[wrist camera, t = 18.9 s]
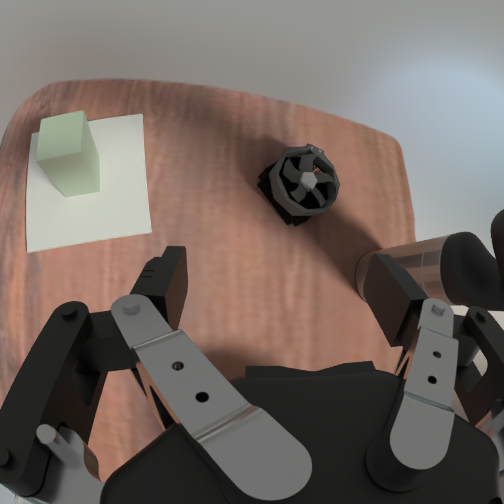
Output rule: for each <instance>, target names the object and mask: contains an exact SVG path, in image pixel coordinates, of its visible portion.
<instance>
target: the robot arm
mask: <svg viewBox="0 0 504 504" xmlns="http://www.w3.org/2000/svg"><path fill="white" fill-rule="evenodd" d="M491 238H492V244H493V249H494V253H495V257H496V259H495V258H494V257H493V256H492V255H491V254H490V253H489V251H488V250H487V249H486V248H485V246H484V245H483V243H482V242H481V241H480V239H479V238H478V237H477V236H476V235H474V234H473V233H470V232H459V233H456V234H451V235H446V236H442V237H437V238H433V239H429V240H424V241H419V242H414V243H410V244H405V245H400V246H396V247H391V248H386V249H381V250H376V251H371V252H368V253H366V254H365V255H364V256H363V257H362V258H361V259H360V261H359V263H358V265H357V269H356V276H355V279H356V286H357V290H358V292H359V294H360V296H361V297H362V299H363V300H364V301H365V302H367V303H368V305H369V307H370V308H371V310H372V312H373V314H374V316H375V318H376V320H377V321H378V323H379V325H380V327H381V329H382V331H383V333H384V335H385V337H386V338H387V340H388V342H389V344H390V346H391V347H396V346H403V349H402V351H401V353H400V355H399V358H398V361H397V364H396V367H395V369H394V372H393V374H392V373H389V372H385V371H381V370H376V369H375V367H374V364H373V362H372V361H364V362H353V363H343V364H340V365H337V366H333V367H330V368H326V369H323V370H319V371H306V370H299V369H293V368H287V367H282V366H246V372H245V376H241V377H237V378H233V379H230V380H228V381H227V380H226V379H225V378H224V376H223V375H222V374H221V373H220V372H219V371H218V370H217V369H216V368H215V367H214V365H213V364H212V363H211V362H210V361H209V360H208V359H207V358H206V356H205V355H204V354H203V353H202V352H201V351H200V350H199V348H198V347H197V346H196V345H195V344H194V343H193V341H192V340H191V339H190V338H189V337H188V336H187V334H186V333H185V332H184V331H183V330H181V329H178V326H179V322H180V318H181V314H182V310H183V307H184V303H185V299H186V295H187V290H188V274H187V258H186V248H185V246H167V247H166V249H165V251H164V253H163V255H162V257H154V258H153V259H151V260H150V261H148V262H147V263H146V265H145V267H144V268H143V271H142V272H141V274H140V276H139V277H138V279H137V281H136V283H135V285H134V287H133V289H132V291H131V292H130V294H129V295H126V296H123V297H120V298H119V299H117V300H116V301H115V302H114V303H113V304H112V306H111V310H109V311H103V312H95V313H89V310H88V307H87V306H86V305H85V304H84V303H82V302H78V301H71V302H67V303H64V304H62V305H60V306H59V307H57V308H56V309H55V310H54V312H53V313H52V315H51V316H50V318H49V319H48V321H47V323H46V324H45V326H44V328H43V329H42V331H41V333H40V334H39V336H38V338H37V339H36V341H35V343H34V344H33V346H32V348H31V350H30V352H29V353H28V355H27V357H26V359H25V361H24V362H23V364H22V366H21V368H20V370H19V372H18V374H17V376H16V378H15V380H14V382H13V384H12V386H11V388H10V390H9V392H8V394H7V396H6V398H5V401H4V403H3V405H2V407H1V409H0V484H2V485H3V486H5V487H6V488H8V489H9V490H10V491H11V492H12V493H14V494H15V495H17V496H18V497H20V498H22V499H23V500H25V501H27V502H28V503H30V504H503V503H502V500H501V496H500V485H499V477H502V476H504V330H503V329H502V328H501V327H500V325H499V324H498V323H497V321H496V320H495V319H494V318H493V316H492V315H491V314H490V313H489V312H488V311H504V209H503V210H502V211H500V212H499V213H498V214H497V215H496V216H495V218H494V219H493V222H492V224H491ZM450 305H451V306H453V305H464V306H466V307H468V308H469V309H468V311H467V313H466V316H461V315H455V314H454V313H453V310H452V308H451V307H450ZM479 349H480V350H481V351H482V353H483V354H484V356H485V357H486V359H487V362H488V367H487V371H486V372H485V374H484V375H483V376H481V375H480V372H479V371H478V369H477V367H476V366H475V364H474V362H473V359H474V357H475V355H476V354H477V353H478V351H479ZM125 369H129V370H130V372H131V374H132V376H133V378H134V379H135V381H136V383H137V385H138V386H139V388H140V390H141V392H142V393H143V395H144V397H145V399H146V400H147V402H148V404H149V405H150V407H151V409H152V411H153V413H154V415H155V417H156V419H157V421H158V422H159V424H160V426H161V427H162V429H163V430H164V432H163V433H162V434H160V435H159V436H158V437H157V438H156V439H155V440H153V441H152V442H151V443H150V444H148V445H147V446H146V447H145V448H144V449H142V450H141V451H140V452H139V453H137V454H136V455H135V456H134V457H132V458H131V459H130V460H128V461H127V462H126V463H125V464H123V465H122V466H121V467H119V468H118V469H117V470H116V471H114V472H113V473H112V474H111V475H110V477H109V478H108V479H107V481H106V482H105V483H103V482H101V480H100V477H99V472H98V469H99V465H98V460H97V457H96V456H95V454H94V453H93V452H92V450H91V449H90V448H89V447H88V441H89V437H90V433H91V429H92V425H93V422H94V418H95V414H96V411H97V407H98V403H99V400H100V397H101V393H102V390H103V386H104V383H105V380H106V377H107V374H108V372H109V371H117V370H125ZM454 390H455V392H456V394H457V396H458V398H459V400H460V402H461V404H462V407H463V409H464V411H465V413H466V416H467V418H468V420H469V422H467V421H466V420H464V419H463V418H461V417H459V416H458V415H456V414H455V413H454V410H452V408H451V405H452V398H453V392H454Z"/></svg>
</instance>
